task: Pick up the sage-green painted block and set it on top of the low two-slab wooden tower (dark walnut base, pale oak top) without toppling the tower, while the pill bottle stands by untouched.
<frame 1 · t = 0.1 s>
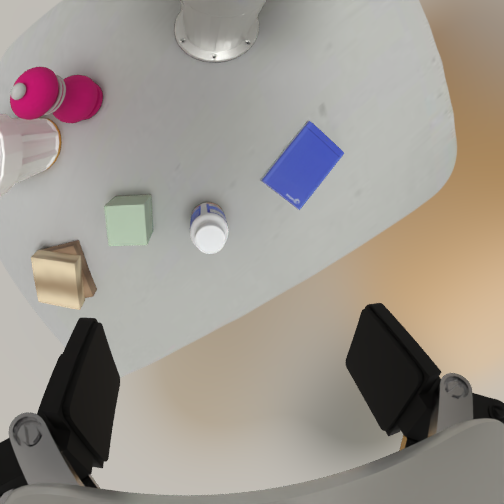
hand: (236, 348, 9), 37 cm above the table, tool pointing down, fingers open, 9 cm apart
hard drive: (301, 164, 45), on the table
walnut base block: (67, 268, 45), on the table
pill bottle: (207, 217, 45), on the table
cup: (40, 144, 34), on the table
sage block: (134, 213, 43), on the table
pepper mill: (85, 100, 34), on the table
oak top block: (61, 275, 42), point 2 cm above the table
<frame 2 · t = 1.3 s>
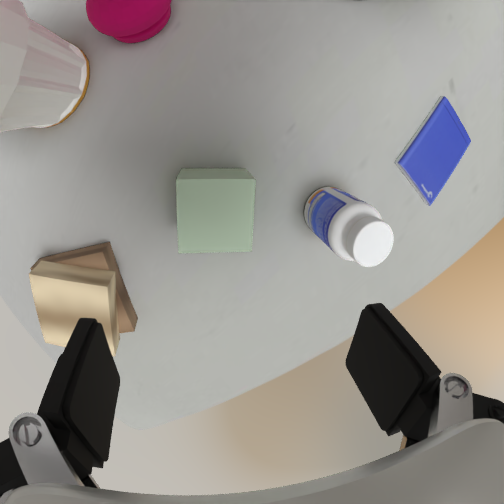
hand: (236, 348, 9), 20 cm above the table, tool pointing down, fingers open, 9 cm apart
hard drive: (432, 148, 29), on the table
walnut base block: (88, 286, 29), on the table
pill bottle: (325, 209, 30), on the table
cup: (52, 85, 19), on the table
sage block: (212, 198, 27), on the table
pepper mill: (139, 17, 18), on the table
oak top block: (80, 302, 27), point 2 cm above the table
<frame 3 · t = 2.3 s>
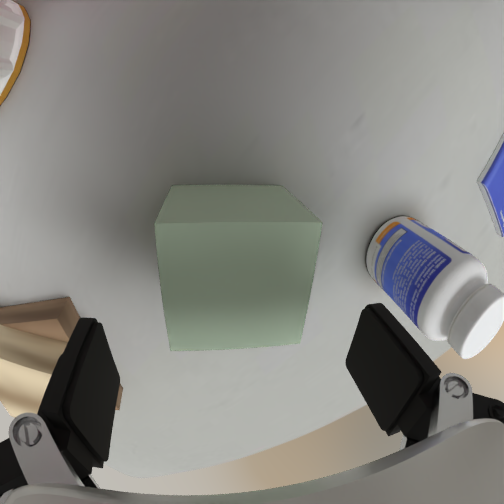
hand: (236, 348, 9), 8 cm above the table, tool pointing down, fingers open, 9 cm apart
walnut base block: (53, 347, 19), on the table, touching oak top block
pill bottle: (393, 247, 19), on the table
sage block: (226, 235, 16), on the table
oak top block: (43, 373, 16), point 2 cm above the table, touching walnut base block
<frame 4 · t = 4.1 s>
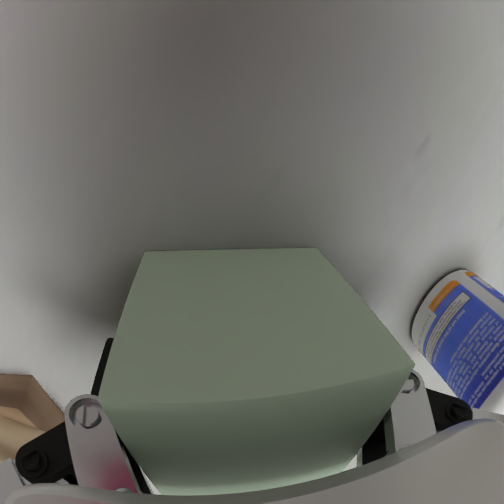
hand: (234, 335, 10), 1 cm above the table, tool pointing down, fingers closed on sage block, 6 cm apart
walnut base block: (28, 415, 13), on the table
pill bottle: (441, 306, 14), on the table
sage block: (231, 320, 11), on the table, touching gripper
oak top block: (19, 446, 10), point 2 cm above the table
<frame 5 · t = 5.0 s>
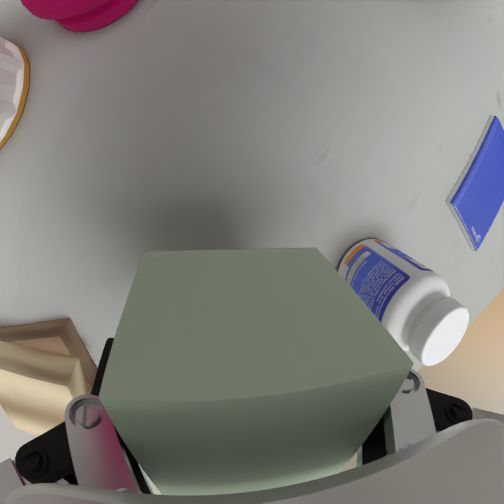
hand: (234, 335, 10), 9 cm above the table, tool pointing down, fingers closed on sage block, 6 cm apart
hard drive: (480, 180, 22), on the table
walnut base block: (55, 363, 20), on the table
pill bottle: (363, 267, 21), on the table
sage block: (231, 320, 11), point 8 cm above the table, touching gripper
oak top block: (45, 387, 17), point 2 cm above the table
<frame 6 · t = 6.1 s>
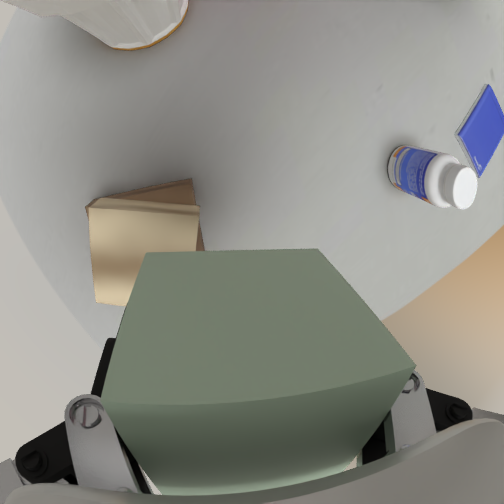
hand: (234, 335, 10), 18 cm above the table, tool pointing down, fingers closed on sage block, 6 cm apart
hard drive: (479, 128, 28), on the table
walnut base block: (152, 235, 28), on the table, touching oak top block
pill bottle: (403, 166, 28), on the table
cup: (140, 11, 17), on the table
sage block: (232, 321, 11), point 18 cm above the table, touching gripper
oak top block: (146, 248, 25), point 2 cm above the table, touching walnut base block
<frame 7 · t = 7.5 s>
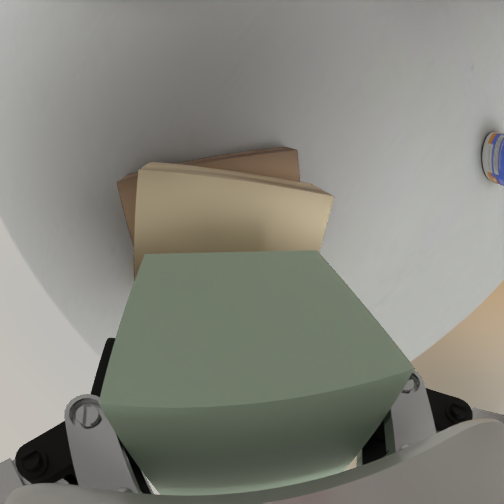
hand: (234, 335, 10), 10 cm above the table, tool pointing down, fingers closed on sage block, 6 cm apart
walnut base block: (217, 230, 19), on the table
pill bottle: (491, 155, 20), on the table
sage block: (231, 322, 11), point 9 cm above the table, touching gripper
oak top block: (221, 248, 17), point 2 cm above the table
when the fingers open (8 cm above the table, at t = 9.1 s): sage block drops 1 cm, point 5 cm above the table.
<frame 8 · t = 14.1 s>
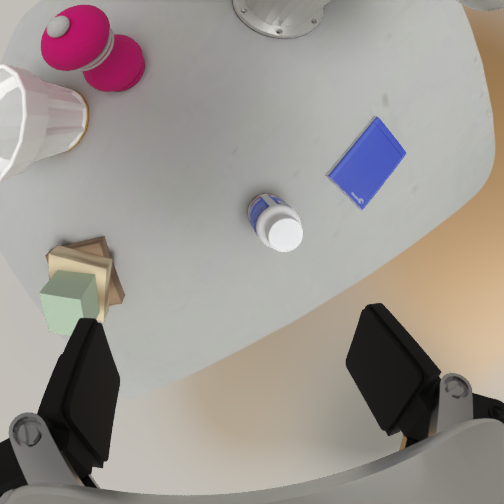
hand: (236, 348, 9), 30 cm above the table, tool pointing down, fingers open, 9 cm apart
hard drive: (365, 162, 40), on the table
walnut base block: (88, 270, 39), on the table
pill bottle: (266, 210, 40), on the table
cup: (61, 121, 29), on the table
sage block: (78, 291, 34), point 5 cm above the table
pepper mill: (122, 69, 28), on the table
oak top block: (82, 279, 36), point 2 cm above the table
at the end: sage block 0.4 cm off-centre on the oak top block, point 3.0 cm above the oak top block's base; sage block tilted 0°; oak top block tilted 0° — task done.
